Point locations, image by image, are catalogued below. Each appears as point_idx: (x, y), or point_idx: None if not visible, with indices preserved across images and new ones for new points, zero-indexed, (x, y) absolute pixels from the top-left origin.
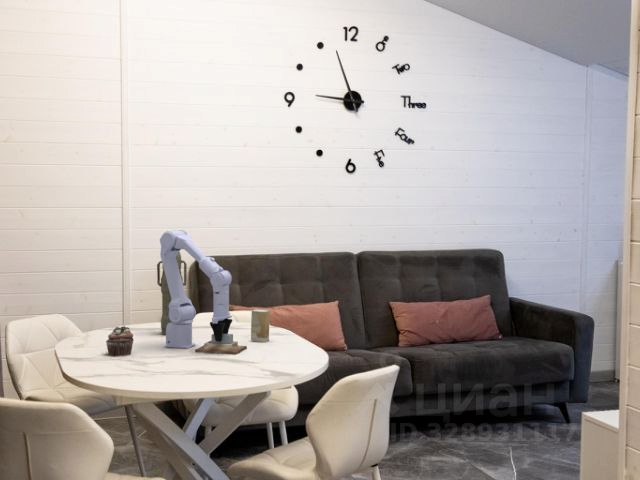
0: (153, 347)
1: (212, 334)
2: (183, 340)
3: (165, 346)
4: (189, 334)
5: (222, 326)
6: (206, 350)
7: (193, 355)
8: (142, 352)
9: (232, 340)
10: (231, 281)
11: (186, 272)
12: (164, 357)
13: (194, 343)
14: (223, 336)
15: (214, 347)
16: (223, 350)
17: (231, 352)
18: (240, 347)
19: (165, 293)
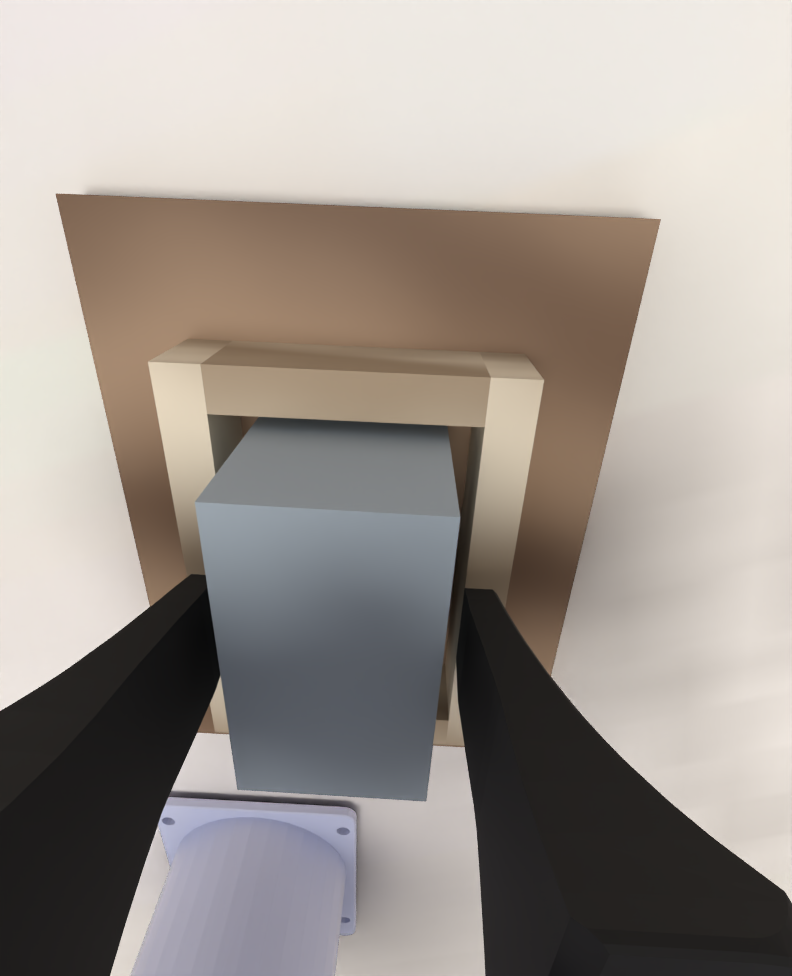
0: (373, 961)
1: (383, 797)
2: (326, 913)
3: (355, 928)
4: (258, 958)
5: (751, 868)
6: (556, 649)
7: (699, 699)
8: None
9: (276, 444)
10: None
11: None
12: (787, 852)
13: (161, 815)
14: (447, 618)
15: None
16: (556, 463)
17: (628, 316)
18: (240, 271)
19: None
